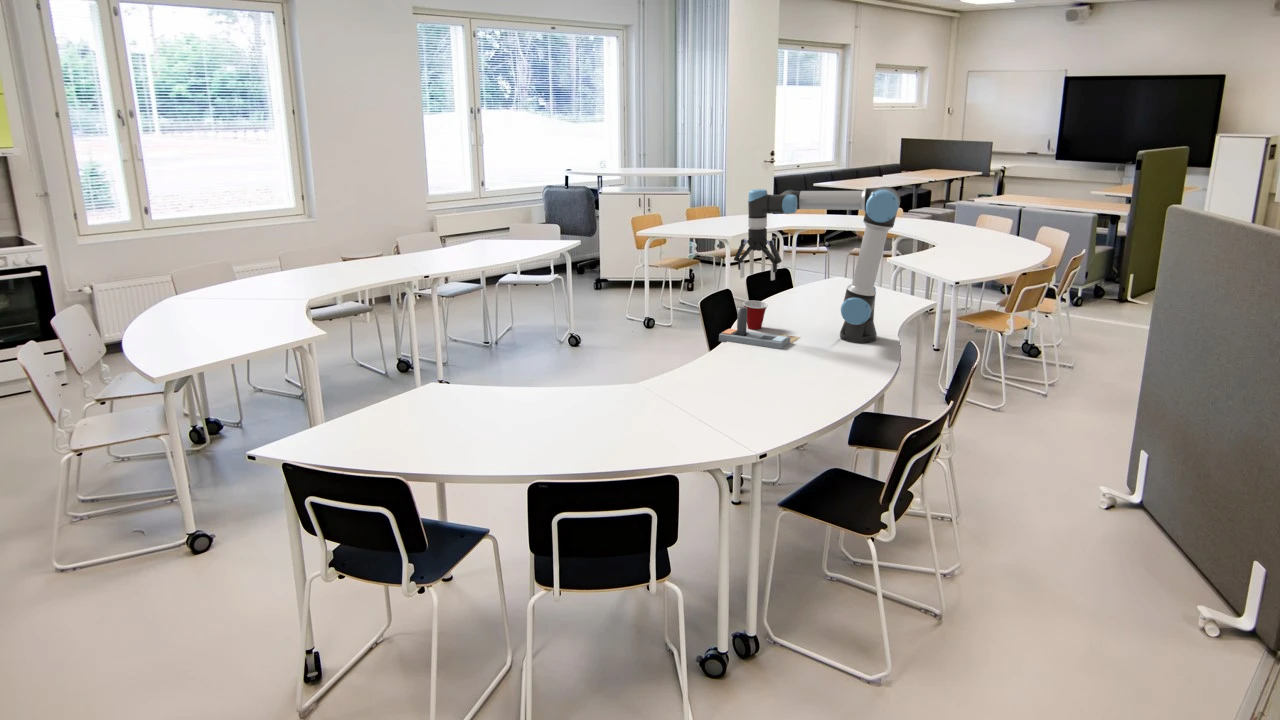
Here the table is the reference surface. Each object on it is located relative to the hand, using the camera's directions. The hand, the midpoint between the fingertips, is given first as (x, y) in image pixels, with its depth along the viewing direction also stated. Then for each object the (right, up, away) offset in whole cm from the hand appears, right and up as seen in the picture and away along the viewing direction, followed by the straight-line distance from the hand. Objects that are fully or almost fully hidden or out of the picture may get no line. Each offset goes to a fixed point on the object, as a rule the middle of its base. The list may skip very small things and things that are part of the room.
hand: (757, 278), depth 344 cm
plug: (-6, -25, +5) cm, 27 cm away
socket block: (-1, -27, +2) cm, 27 cm away
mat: (+13, -25, +5) cm, 29 cm away
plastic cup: (+2, -21, +22) cm, 30 cm away
